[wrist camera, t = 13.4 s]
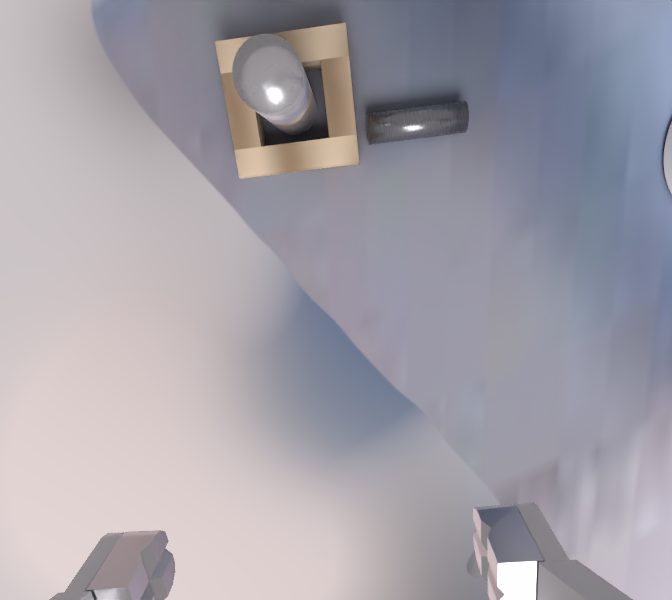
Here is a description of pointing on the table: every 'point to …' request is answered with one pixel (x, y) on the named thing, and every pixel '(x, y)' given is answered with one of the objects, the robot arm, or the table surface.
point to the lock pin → (417, 122)
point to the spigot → (274, 83)
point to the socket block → (333, 59)
